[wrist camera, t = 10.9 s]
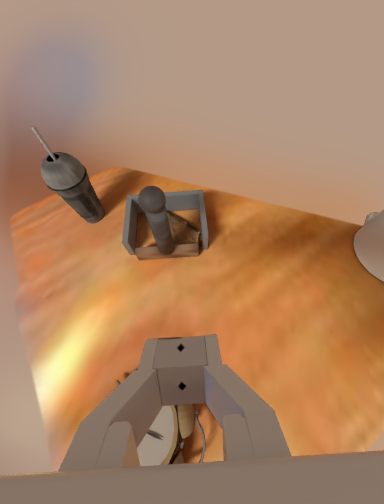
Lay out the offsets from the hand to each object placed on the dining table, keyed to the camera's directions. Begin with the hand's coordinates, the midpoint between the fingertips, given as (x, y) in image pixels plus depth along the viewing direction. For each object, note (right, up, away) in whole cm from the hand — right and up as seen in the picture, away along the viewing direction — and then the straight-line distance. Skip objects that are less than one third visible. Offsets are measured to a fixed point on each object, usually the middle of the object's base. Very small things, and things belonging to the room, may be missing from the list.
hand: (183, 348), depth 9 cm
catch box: (-5, +9, +37) cm, 38 cm away
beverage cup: (-22, +13, +39) cm, 47 cm away
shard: (-3, +7, +36) cm, 37 cm away
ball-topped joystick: (-4, +3, +34) cm, 34 cm away
